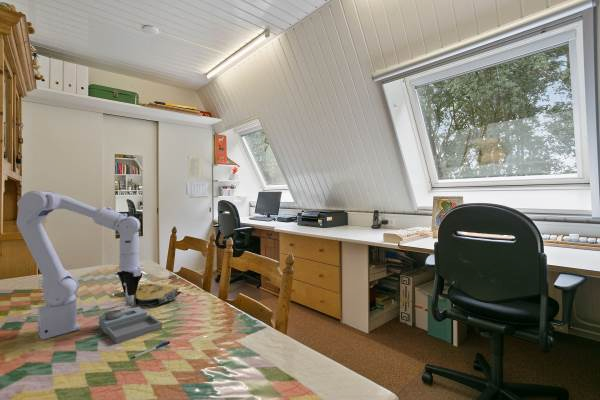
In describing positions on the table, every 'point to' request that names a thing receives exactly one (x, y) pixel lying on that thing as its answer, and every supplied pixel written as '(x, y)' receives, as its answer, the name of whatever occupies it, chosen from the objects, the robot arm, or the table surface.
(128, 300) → the lock pin
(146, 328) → the tray
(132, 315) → the block
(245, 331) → the table surface
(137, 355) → the ballpoint pen
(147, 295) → the pulley block
